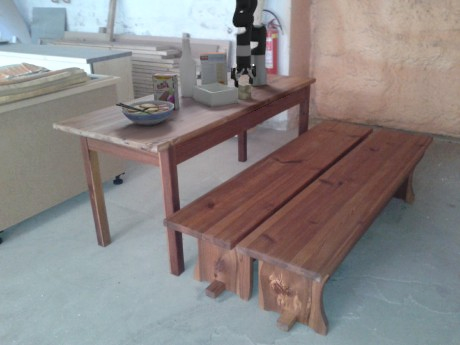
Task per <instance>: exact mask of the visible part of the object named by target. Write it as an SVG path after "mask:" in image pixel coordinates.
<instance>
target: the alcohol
mask: <svg viewBox="0 0 460 345" xmlns="http://www.w3.org/2000/svg"><path fill="white" fill-rule="evenodd" d="M181 41H182V45H181V46H182V48H181V49H182V52H181V53H182V54H181V57H180V59H179V60H178V71H179V86H180V87H179V88H180V95H181V97H182V98H193V86H198V82H197V81H198V78H197V62H196V60H195V58H194V57H193V55H192V49H191V40H190V37H182V38H181Z"/></svg>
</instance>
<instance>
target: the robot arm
mask: <svg viewBox="0 0 460 345" xmlns="http://www.w3.org/2000/svg"><path fill="white" fill-rule="evenodd" d="M258 4H259V0H235V7H234V8H235V9H234V12H233V14H232V15H233V16H232V20H231V21H232V25H233V27H235V28H244V29H245V30H244V31H241V32H238V33H237V34H236V36H235V38H236V39H235V40H236V47H235V65H236V66H231V67H230V80H233V82H234V84H233V86H234V88H237V89H238V87H239V84H240V83H239V79H240V77H242V76H244V75H245V76H246V75H247V76H248V77H249V78H248V84H251V87H252V86H253V87H257V86H258V87H260V86H261V87H262V86H265V85H267V84H268V80H267V79H268V68H267V67H266V50H267V39H268V38H267V36H268V35H267V34H268V32H267V31H268V30H267V26H265V25H264V24H254V23H255V22H254V21H255V16H254V14H255V12H256V10H257V7H258V6H259V5H258ZM251 43H258V44H257V46H255V47H253V48H251Z"/></svg>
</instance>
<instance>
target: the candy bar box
mask: <svg viewBox="0 0 460 345" xmlns="http://www.w3.org/2000/svg"><path fill="white" fill-rule="evenodd" d="M178 82H179V81H178V75H177V74H175V73H171V74H170V73H155V74H154V73H153V74H152V86H153V88H152V90H153V97H154V98H153V101H167V102H171V103H173V104H174V109H173V111H177V110H178V109H179V108H180V98H179V94H180V93H179V83H178Z"/></svg>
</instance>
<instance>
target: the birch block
mask: <svg viewBox="0 0 460 345" xmlns="http://www.w3.org/2000/svg"><path fill="white" fill-rule="evenodd" d="M238 84H239V87H238V88H237V89H238V99H240V100H241V99H242V100H247V99H246V98H248V99H252V86H251V84H249V82H248V83H247V82H244V83H238Z"/></svg>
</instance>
